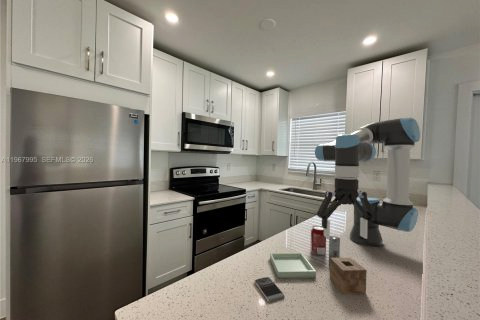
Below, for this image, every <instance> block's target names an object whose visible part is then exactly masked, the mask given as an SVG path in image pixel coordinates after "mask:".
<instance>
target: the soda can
mask: <svg viewBox="0 0 480 320" xmlns="http://www.w3.org/2000/svg"><path fill="white" fill-rule="evenodd" d="M310 252H312V254H314V255H317V256H324V255H325V254H327V253H326V252H327V238H326V237H325V236H324V228H323V227H322V225H312V228H311V229H310Z"/></svg>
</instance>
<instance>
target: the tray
mask: <svg viewBox="0 0 480 320" xmlns="http://www.w3.org/2000/svg"><path fill="white" fill-rule="evenodd" d="M269 260H270V263H271V265H272V267H273V270H274V271H275V274H276V276H277V278H278V279H279V280H280V279H316V278H317V270H316V269H315V268H314V266H312V264H311V262H309V260H308V259H307V258H306V257H305V255H304V254H303V252H270V253H269Z"/></svg>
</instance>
